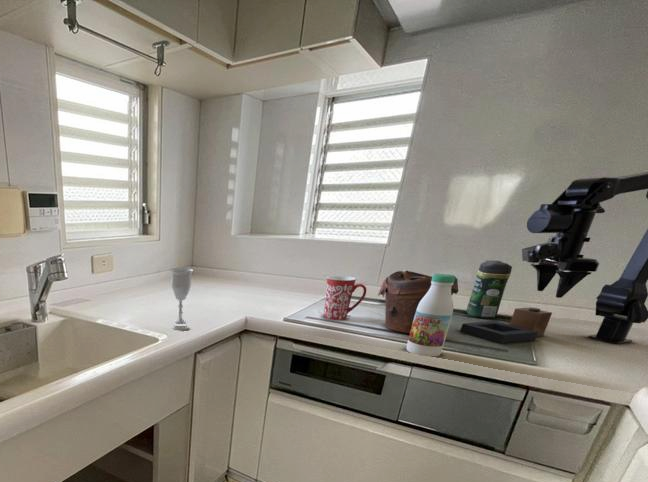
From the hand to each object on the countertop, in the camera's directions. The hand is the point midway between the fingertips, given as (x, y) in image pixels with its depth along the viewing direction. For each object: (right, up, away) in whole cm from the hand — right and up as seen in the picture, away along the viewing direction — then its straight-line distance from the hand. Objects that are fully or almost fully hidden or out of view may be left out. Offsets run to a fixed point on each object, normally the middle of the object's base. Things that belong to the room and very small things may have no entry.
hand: (548, 294), depth 108 cm
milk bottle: (-36, -16, -3) cm, 39 cm away
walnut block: (+5, -9, +13) cm, 17 cm away
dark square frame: (-5, -10, +11) cm, 16 cm away
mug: (-42, -2, +30) cm, 52 cm away
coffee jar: (+8, -1, +32) cm, 33 cm away
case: (-27, -8, +18) cm, 33 cm away
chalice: (-98, -7, +20) cm, 100 cm away
